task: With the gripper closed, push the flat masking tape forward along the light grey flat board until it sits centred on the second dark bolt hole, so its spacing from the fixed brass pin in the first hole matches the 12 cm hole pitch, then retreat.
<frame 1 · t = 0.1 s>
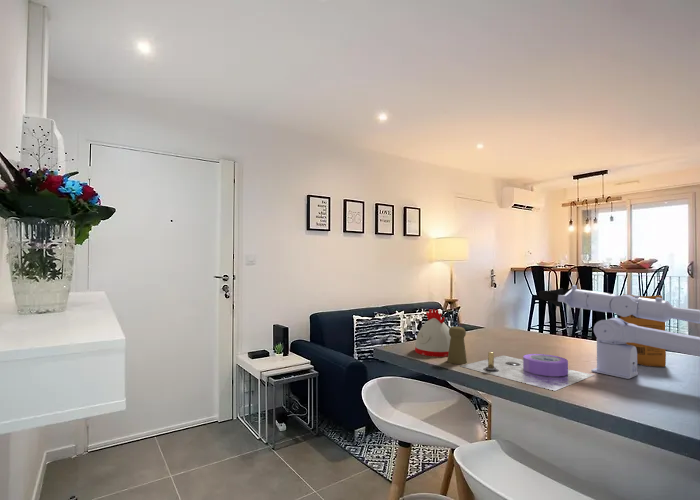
hand: (545, 293, 130), 22 cm above the breakfast bar, tool horizontal, fingers open, 7 cm apart
coffee package: (640, 363, 127), on the breakfast bar
light grey flat board: (524, 370, 115), on the breakfast bar
masking tape: (545, 372, 114), resting on light grey flat board
cork: (457, 362, 124), on the breakfast bar
kitchen timer: (435, 352, 138), on the breakfast bar
fixed brass pin: (491, 370, 115), resting on light grey flat board
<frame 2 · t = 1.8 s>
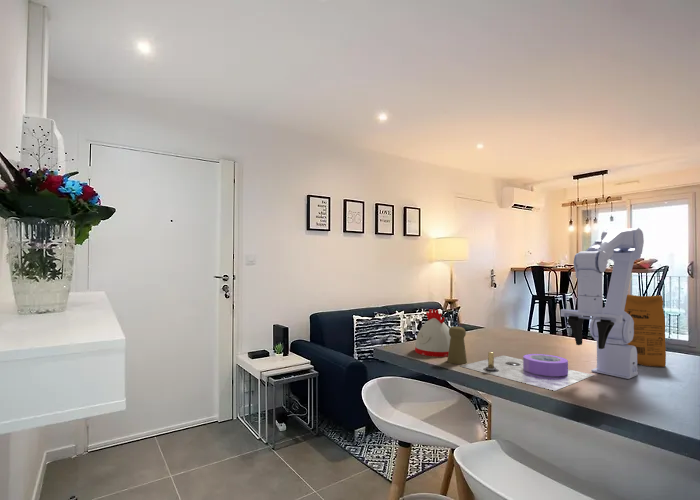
hand: (590, 346, 105), 9 cm above the breakfast bar, tool pointing down, fingers open, 5 cm apart
nothing on the breakfast bar moved.
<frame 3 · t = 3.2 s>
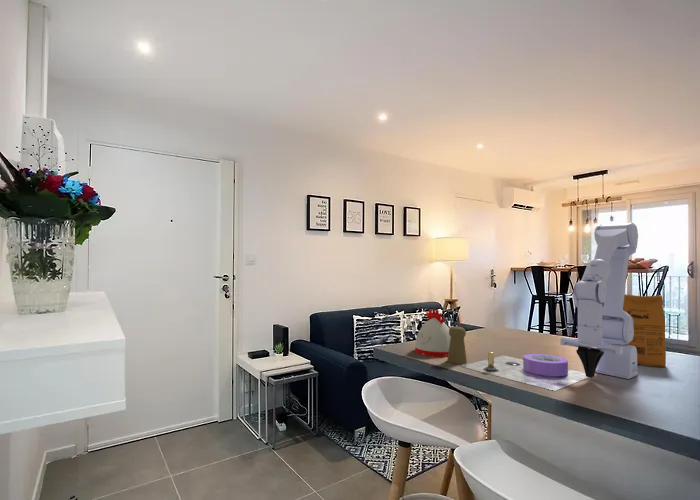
hand: (590, 376, 105), 1 cm above the breakfast bar, tool pointing down, fingers closed
nothing on the breakfast bar moved.
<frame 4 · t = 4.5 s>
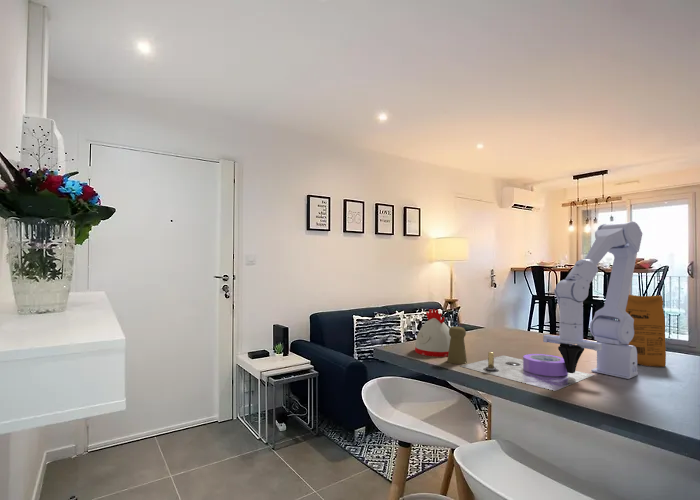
hand: (571, 372, 109), 1 cm above the breakfast bar, tool pointing down, fingers closed
masking tape: (545, 371, 114), resting on light grey flat board, touching gripper
everything else where it was.
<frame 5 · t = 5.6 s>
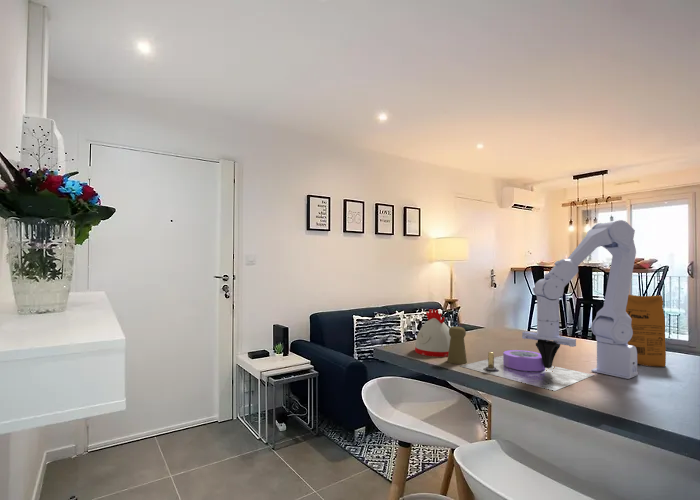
hand: (547, 367, 114), 1 cm above the breakfast bar, tool pointing down, fingers closed
masking tape: (523, 367, 119), resting on light grey flat board, touching gripper
everything else where it was.
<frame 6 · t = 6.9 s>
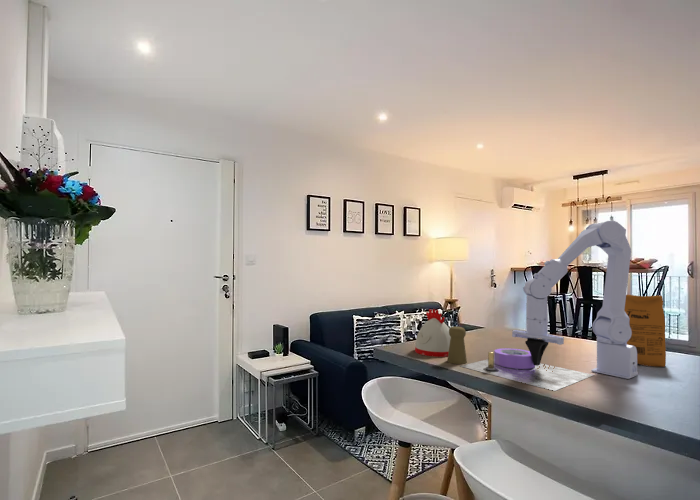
hand: (536, 364, 116), 1 cm above the breakfast bar, tool pointing down, fingers closed
masking tape: (514, 365, 122), resting on light grey flat board, touching gripper
everything else where it was.
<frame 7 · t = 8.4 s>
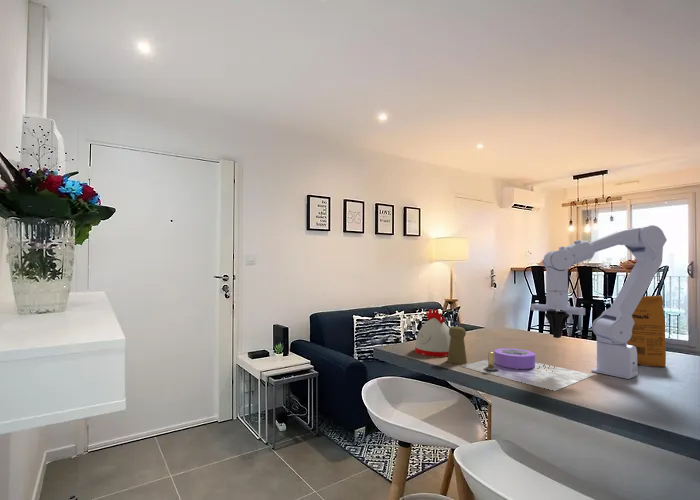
hand: (557, 337, 116), 10 cm above the breakfast bar, tool pointing down, fingers closed
masking tape: (514, 365, 122), resting on light grey flat board
everything else where it was.
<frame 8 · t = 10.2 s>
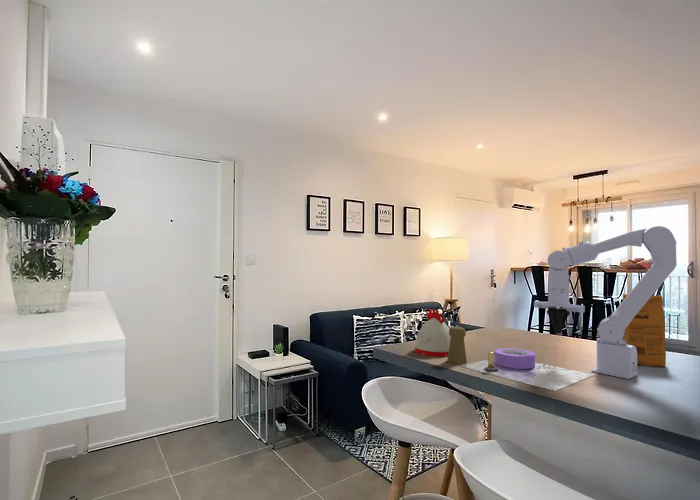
hand: (558, 333, 122), 10 cm above the breakfast bar, tool pointing down, fingers closed
nothing on the breakfast bar moved.
at the end: masking tape 0.6 cm from the target spot, resting on light grey flat board; masking tape tilted 0° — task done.
